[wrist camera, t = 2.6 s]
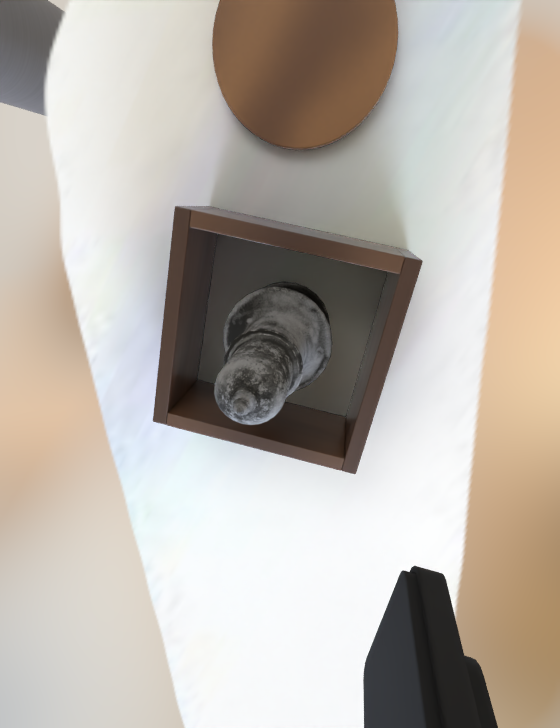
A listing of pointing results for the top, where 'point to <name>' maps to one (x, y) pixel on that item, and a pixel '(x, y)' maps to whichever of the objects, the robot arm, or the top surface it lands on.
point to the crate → (293, 422)
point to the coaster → (303, 65)
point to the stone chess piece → (271, 351)
